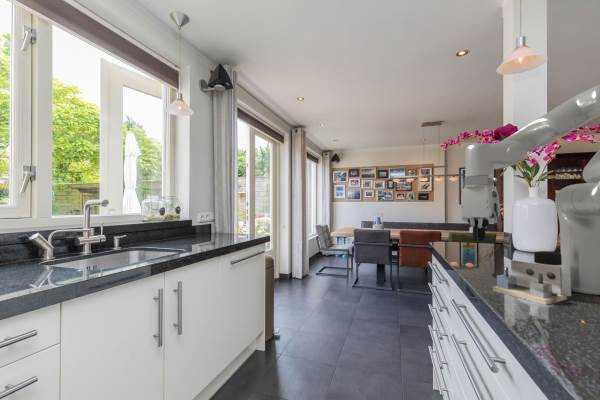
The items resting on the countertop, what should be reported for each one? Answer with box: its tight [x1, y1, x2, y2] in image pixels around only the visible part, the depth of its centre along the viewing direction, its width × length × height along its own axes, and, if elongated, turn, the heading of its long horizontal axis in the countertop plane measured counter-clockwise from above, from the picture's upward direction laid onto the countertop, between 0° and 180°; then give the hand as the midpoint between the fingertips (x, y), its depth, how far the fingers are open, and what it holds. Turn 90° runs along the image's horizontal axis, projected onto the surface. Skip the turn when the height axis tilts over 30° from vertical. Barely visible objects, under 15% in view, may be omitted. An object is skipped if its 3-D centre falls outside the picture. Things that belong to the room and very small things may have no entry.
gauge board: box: [492, 259, 568, 306], centre depth 79 cm, size 10×13×8 cm
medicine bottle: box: [533, 250, 572, 297], centre depth 82 cm, size 7×7×12 cm
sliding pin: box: [496, 266, 517, 289], centre depth 82 cm, size 4×3×6 cm
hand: (478, 240), depth 88 cm, fingers closed
